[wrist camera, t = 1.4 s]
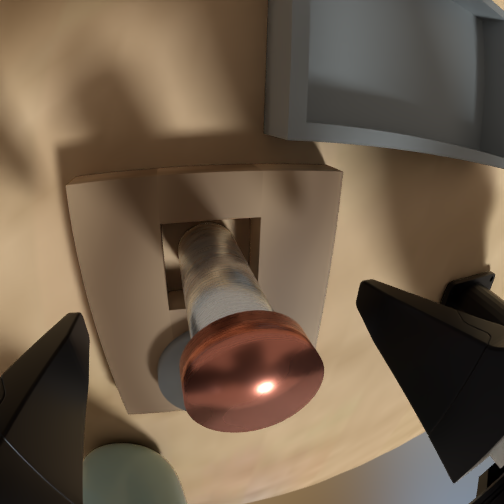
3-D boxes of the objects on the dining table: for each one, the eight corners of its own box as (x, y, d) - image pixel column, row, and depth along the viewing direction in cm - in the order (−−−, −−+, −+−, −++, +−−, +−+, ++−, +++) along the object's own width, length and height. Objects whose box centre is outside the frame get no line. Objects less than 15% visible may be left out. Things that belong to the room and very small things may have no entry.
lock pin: (245, 210, 13) (336, 327, 6) (244, 279, 14) (311, 417, 8) (165, 216, 12) (174, 352, 5) (171, 287, 13) (192, 440, 7)
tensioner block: (326, 164, 13) (360, 178, 10) (297, 372, 18) (314, 403, 16) (76, 176, 10) (54, 194, 8) (128, 395, 15) (128, 432, 13)
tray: (479, 17, 11) (510, 16, 8) (475, 158, 15) (506, 169, 13) (270, -71, 7) (292, -98, 5) (263, 133, 11) (287, 140, 9)
